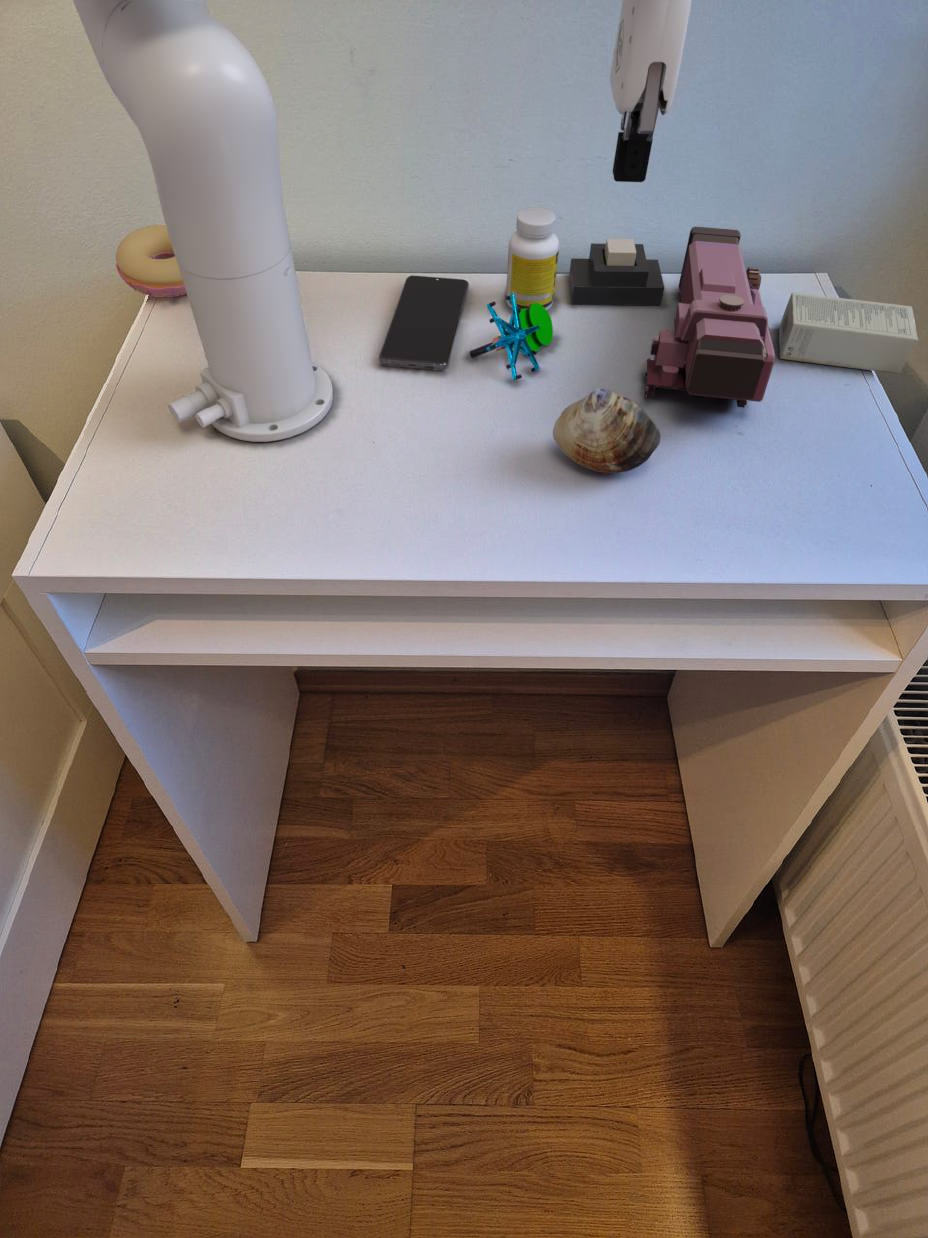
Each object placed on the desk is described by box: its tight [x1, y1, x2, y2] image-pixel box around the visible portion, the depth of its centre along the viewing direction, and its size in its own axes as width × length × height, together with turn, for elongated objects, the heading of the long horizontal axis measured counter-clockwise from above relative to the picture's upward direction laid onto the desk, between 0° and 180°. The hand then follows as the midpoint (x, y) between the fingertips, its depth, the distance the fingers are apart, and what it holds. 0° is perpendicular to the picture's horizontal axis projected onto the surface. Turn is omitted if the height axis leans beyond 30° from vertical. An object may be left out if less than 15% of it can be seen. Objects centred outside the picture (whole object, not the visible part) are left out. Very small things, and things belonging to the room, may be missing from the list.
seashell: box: [552, 388, 662, 474], centre depth 70 cm, size 10×6×8 cm, turn 70°
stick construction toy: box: [469, 294, 554, 381], centre depth 82 cm, size 12×7×8 cm
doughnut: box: [115, 224, 187, 299], centre depth 91 cm, size 11×11×4 cm
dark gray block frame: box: [568, 242, 665, 307], centre depth 89 cm, size 10×6×4 cm, turn 89°
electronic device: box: [644, 226, 776, 409], centre depth 79 cm, size 11×27×10 cm, turn 171°
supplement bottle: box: [505, 206, 560, 311], centre depth 86 cm, size 5×5×10 cm
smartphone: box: [378, 274, 470, 371], centre depth 86 cm, size 7×1×16 cm
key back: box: [604, 237, 636, 266], centre depth 87 cm, size 3×3×2 cm
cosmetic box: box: [778, 292, 919, 375], centre depth 82 cm, size 6×4×12 cm
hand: (628, 177), depth 81 cm, fingers closed
